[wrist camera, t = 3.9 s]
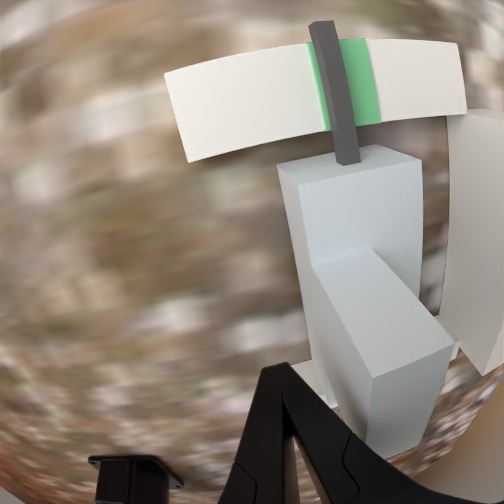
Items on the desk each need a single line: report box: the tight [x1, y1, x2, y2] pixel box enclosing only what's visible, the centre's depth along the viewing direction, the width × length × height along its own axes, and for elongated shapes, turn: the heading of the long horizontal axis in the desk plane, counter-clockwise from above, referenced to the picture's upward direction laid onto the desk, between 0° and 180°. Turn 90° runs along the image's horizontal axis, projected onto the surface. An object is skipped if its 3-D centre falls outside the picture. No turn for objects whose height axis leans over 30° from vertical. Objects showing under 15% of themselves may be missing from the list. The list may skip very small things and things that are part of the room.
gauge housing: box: [164, 39, 504, 408], centre depth 11 cm, size 16×14×5 cm
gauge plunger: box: [276, 21, 455, 460], centre depth 9 cm, size 14×4×8 cm, turn 13°
